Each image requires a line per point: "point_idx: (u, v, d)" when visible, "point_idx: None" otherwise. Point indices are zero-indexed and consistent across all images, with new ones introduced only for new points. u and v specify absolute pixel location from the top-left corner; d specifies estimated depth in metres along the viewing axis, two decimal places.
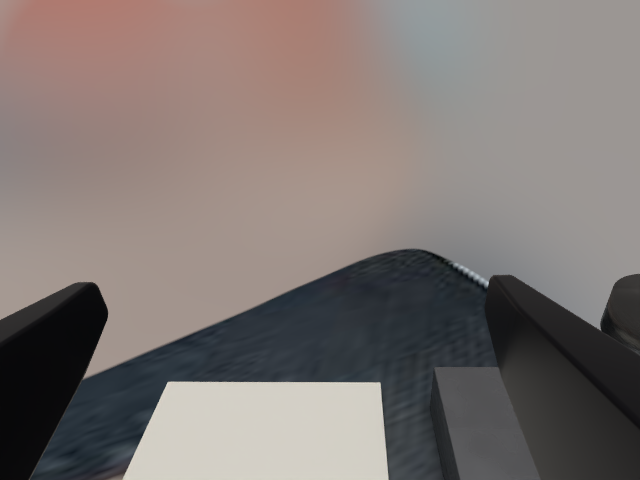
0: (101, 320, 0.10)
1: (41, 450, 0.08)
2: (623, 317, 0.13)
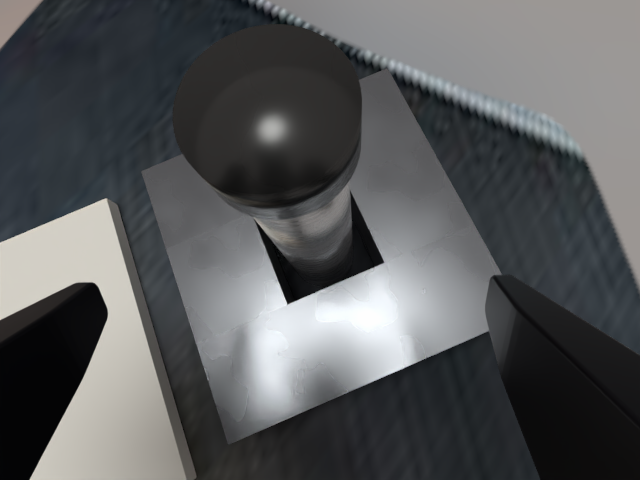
0: (101, 320, 0.10)
1: (41, 450, 0.08)
2: None
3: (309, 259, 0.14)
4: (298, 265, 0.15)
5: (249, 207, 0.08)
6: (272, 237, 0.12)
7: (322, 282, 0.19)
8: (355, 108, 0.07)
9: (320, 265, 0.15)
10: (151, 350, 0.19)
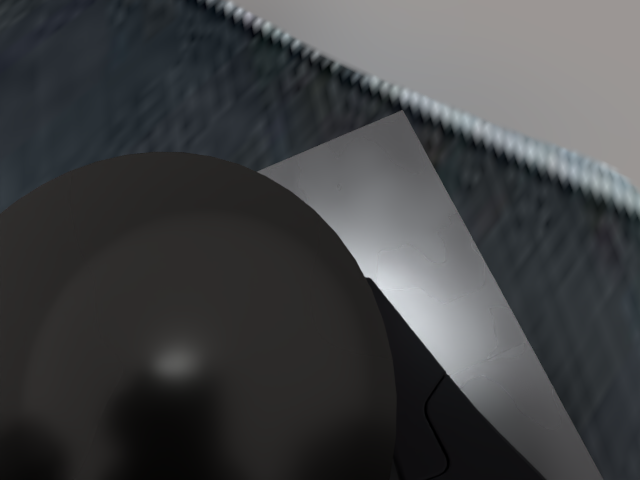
0: None
1: None
2: None
3: None
4: None
5: None
6: None
7: None
8: (378, 426, 0.03)
9: None
10: None
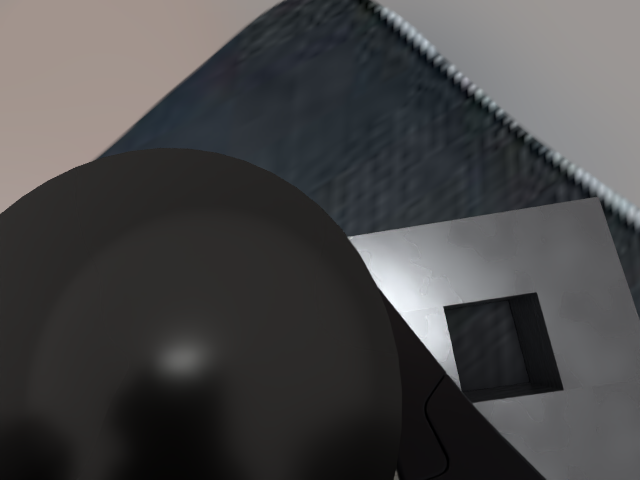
0: None
1: None
2: None
3: None
4: None
5: None
6: None
7: None
8: (383, 421, 0.03)
9: None
10: None
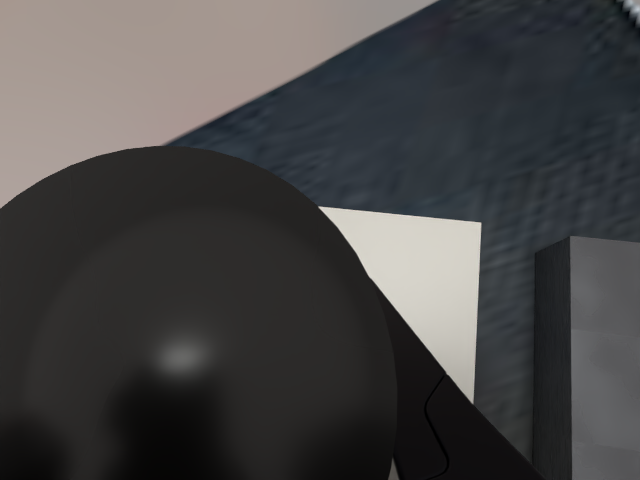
0: None
1: None
2: None
3: None
4: None
5: None
6: None
7: None
8: (378, 418, 0.03)
9: None
10: (472, 394, 0.19)
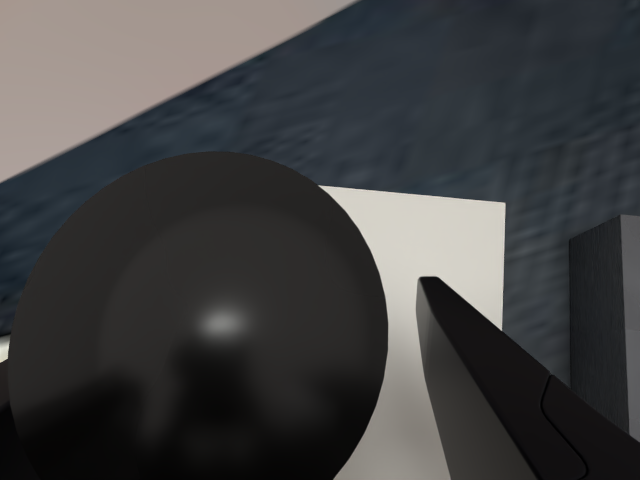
0: None
1: None
2: None
3: None
4: None
5: None
6: None
7: None
8: (375, 344, 0.04)
9: None
10: None
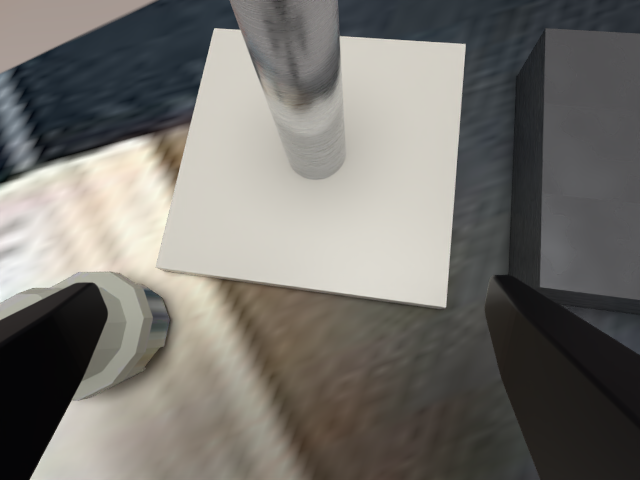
0: (101, 320, 0.10)
1: (41, 450, 0.08)
2: None
3: (301, 112, 0.15)
4: (291, 132, 0.16)
5: None
6: (265, 70, 0.13)
7: (315, 170, 0.20)
8: None
9: (312, 129, 0.16)
10: (454, 188, 0.20)
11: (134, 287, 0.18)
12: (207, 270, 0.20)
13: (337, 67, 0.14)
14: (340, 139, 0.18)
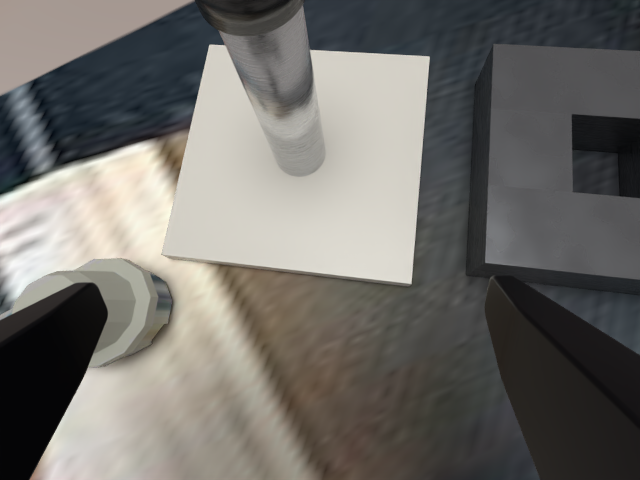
0: (101, 320, 0.10)
1: (41, 450, 0.08)
2: None
3: (282, 120, 0.18)
4: (275, 136, 0.19)
5: (228, 18, 0.12)
6: (251, 88, 0.16)
7: (298, 168, 0.23)
8: None
9: (292, 133, 0.19)
10: (419, 182, 0.23)
11: (142, 271, 0.21)
12: (206, 256, 0.23)
13: (310, 84, 0.17)
14: (318, 141, 0.21)
